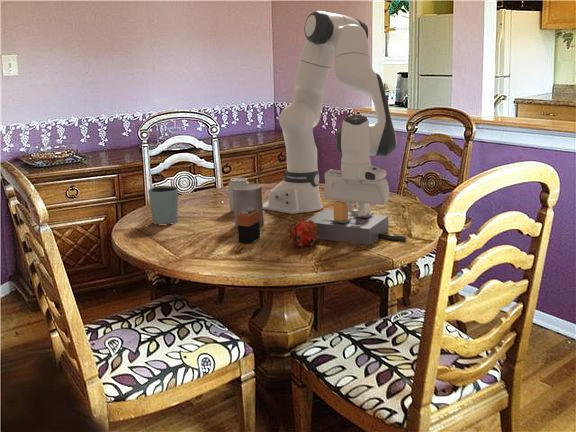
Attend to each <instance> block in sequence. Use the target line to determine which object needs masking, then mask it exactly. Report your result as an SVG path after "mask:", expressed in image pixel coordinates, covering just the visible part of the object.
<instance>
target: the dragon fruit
mask: <svg viewBox="0 0 576 432" xmlns="http://www.w3.org/2000/svg"><path fill="white" fill-rule="evenodd" d="M300 220H301V221H297V222H295V223H294V224H293V225H292V227H291V228H290V231H289V239H290V240H291V241H292V242H293V244H295V248H297V249H298V248H303V247H304V246H305V245H307V246H308V247H312V246H313V245H314V244H315V241H316V240H319V239H318V238H319V237H320V235H318V234H317V232H318V231H319V229H318V226H317V224H316V223H314V222H313V221H312V220H308V221H305V219H304V218H301V219H300Z"/></svg>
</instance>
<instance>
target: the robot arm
mask: <svg viewBox="0 0 576 432" xmlns="http://www.w3.org/2000/svg"><path fill="white" fill-rule="evenodd" d="M303 30H304V37H305V38H306V41H305V43H304V44H303V45H304V46H303V48H302V50H301V54H300V57H299V60H298V65H297V68H296V72H295V76H294V81H293V83H294V91H293V99H292V102H291V103H289V104H288V105H286V106H285V107H284V108H282V110H281V112H280V114H279V119H278V122H279V126H280V128H281V129H282V135H283V140H284V144H285V150H286V168H287V169H286V170H284V171H283V172H281V173H280V174H281V175H280V176H281V177H283V178H282V181H280V182H279V183H278V184H277V185H276V186H274V187H273V188H272V189H271V190H270V191H269V194H268V201H266V202H263V203H262V205H263V210H268V211H275V212H279V213H284V214H289V215H290V214H291V215H292V214H299V213H300V214H301V213H311V212H315V211H320V210H322V209H323V207H324V206H323V203H322V199H321V195H320V187H319V185H320V171H319V169H318V148H317V145H316V143H315V137H314V133H313V132H314V131H313V129H314V128H315V127H317V125H318V124H319V122H320V120H321V117H322V108H323V105H324V104H323V102H324V95H325V89H326V86H327V82H328V78H329V74H330V70H331V67H332V63H333V58H334V71H335V75H336V78H337V80H338V81H339V82H340V83H341V84H342V85H343V86H344V87H346V88H349V89H351V90H352V91H353V90H354V91H357V92H360V93H363V94H365V95H366V96H368V97H369V98H370V99H371V100H372V102H373V105H374V111H375V116H376V120H377V122H376V123H370V121H369V119H368V118H367V117H366V116H362V115H349V116H346V117H345V118H344V119H343V120H342V124H341V125H342V126H340V127H339V128H338V130H337V131H336V132H335V135H336V148H335V150H336V151H337V152H338V153H340V154H341V155H342V156H341V159H340V169H331V168H330V169H328V170H326V171H325V172H324V182H325V183H324V189H323V190H324V191H323V197H324V198H325V200H329V201H330V200H331V201H337V200H339V201H347V206H348V210H349V211H350V212H351V216H358V217H360V216H361V214H362V209H363V207H364V206H365V203H369V204H370V205H381V206H383V205H385V204H387V203H388V202H389V201H390V187H389V186H390V185H389V183H388V180H387V179H386V176H387V170H385V169H382V168H381V167H379V166H376V165H373V164H372V163H371V162H372V160H371V159H372V158H371V156H376V157H388V156H389V155H391V154H392V153H393V152H394V151H395V149H396V147H397V140H398V137H397V133H396V130H395V127H394V125H393V120H392V117H391V113H390V107H389V104H388V102H389V101H388V99H387V94H386V91H385V86H384V82H383V79H382V77H381V75H380V74H378V73H377V72H375V71H374V69H373V67H372V65H371V62H370V60H371V59H370V48H369V41H368V39H369V27H368V26H367V24H366V23H365V22H363V21H362V20H360V19H357V18H353V17H352V16H348V15H344V14H342V13H341V14H340V13H339V14H338V13H333V12H326V11H324V10H315V11H312V12H311V13H310V14H309V15H308V16H307V18H306V20H305V23H304V29H303ZM356 202H358V206H360V207H359V209H358V210H357V209H356V208H355V206H354V203H356Z"/></svg>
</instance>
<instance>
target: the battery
mask: <svg viewBox="0 0 576 432" xmlns="http://www.w3.org/2000/svg"><path fill="white" fill-rule="evenodd" d="M237 225H238V228H237V236H238V237H237V238H238V243H241V244H248V245H251V244H252V243H253V242H256V241H258V240H259V239H260V238H261V227H260V222H259V211H258V210H254V208H251V207H250V208H248V209H247V210H246V211H242V212H241V213H239V214H238V215H237Z"/></svg>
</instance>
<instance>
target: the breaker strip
mask: <svg viewBox="0 0 576 432" xmlns="http://www.w3.org/2000/svg"><path fill="white" fill-rule="evenodd" d="M348 217H351V218H352V219H351V220H349V221H348V222H346V223H339V222H330V220H331V219H333V218H334V209H324V210H322V211H320V212H319V213H316V214H315V215H313V216H311V217H309V218H307V219H306V220H305V221H308V220H312V221H313V222H314V223H316V224H317V226H318V229H319V231H318V232H317V234H318V235H320V237H319V238H318V239H317V240H319V239H320V240H326V241H334V242H342V243H343V242H344V243H348V244H349V243H352V244H358V245H364V244H365V246H366V245H367V246H370V245H371V244H373V243H374V242H376V241H377V240H378V239H383V240H384V239H385V240H392V241H403V242H406V240H407V237H406V236H404V235H396V234H388V233H387V231H388V232H389V215H383V214H374V213H373V215H371V216H370V217H368V218H363V217H353V216H351V211H348ZM375 240H376V241H375Z"/></svg>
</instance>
